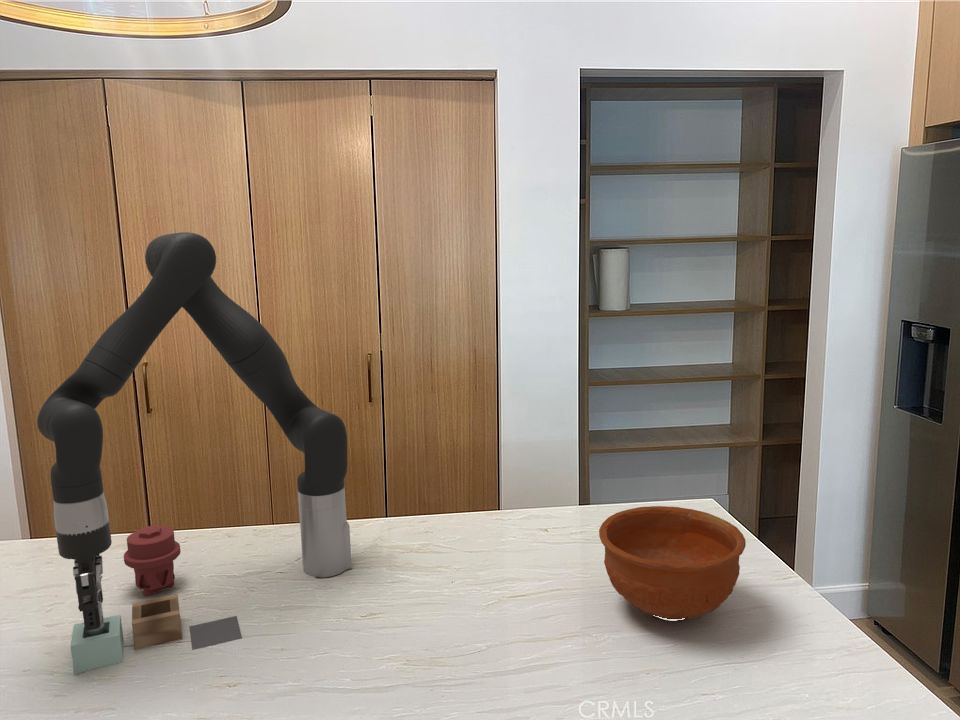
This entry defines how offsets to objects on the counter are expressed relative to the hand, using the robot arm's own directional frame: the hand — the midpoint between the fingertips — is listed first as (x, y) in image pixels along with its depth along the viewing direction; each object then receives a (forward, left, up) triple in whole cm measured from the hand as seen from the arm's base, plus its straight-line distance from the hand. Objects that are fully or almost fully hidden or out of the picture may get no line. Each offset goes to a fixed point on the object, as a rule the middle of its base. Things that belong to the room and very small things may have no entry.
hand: (94, 615), depth 121 cm
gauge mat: (-18, +1, -8) cm, 20 cm away
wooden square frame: (-9, -3, -8) cm, 12 cm away
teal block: (0, 0, -8) cm, 8 cm away
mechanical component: (-9, -21, -8) cm, 24 cm away
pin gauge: (0, 0, -8) cm, 8 cm away
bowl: (-93, +29, -8) cm, 98 cm away
